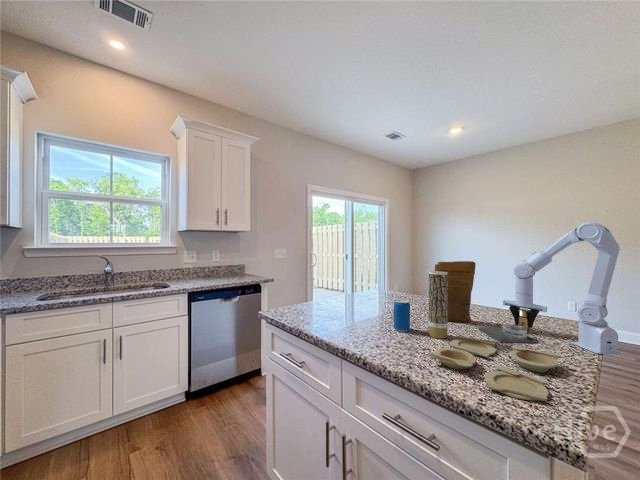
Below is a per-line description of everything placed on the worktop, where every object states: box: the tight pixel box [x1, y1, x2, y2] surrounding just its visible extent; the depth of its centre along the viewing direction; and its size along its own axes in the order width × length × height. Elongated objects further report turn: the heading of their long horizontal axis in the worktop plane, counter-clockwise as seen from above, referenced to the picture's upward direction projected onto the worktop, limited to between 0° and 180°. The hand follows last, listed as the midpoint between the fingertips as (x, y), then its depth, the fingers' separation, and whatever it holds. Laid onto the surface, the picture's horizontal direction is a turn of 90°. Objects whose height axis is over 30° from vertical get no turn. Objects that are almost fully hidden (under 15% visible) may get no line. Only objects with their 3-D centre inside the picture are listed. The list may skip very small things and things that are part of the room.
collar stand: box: [477, 323, 537, 344], centre depth 105 cm, size 14×13×4 cm
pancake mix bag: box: [433, 260, 476, 323], centre depth 124 cm, size 7×19×28 cm, turn 84°
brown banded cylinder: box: [517, 308, 531, 334], centre depth 110 cm, size 4×4×9 cm
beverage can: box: [393, 299, 411, 333], centre depth 111 cm, size 6×6×12 cm
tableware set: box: [427, 335, 562, 402], centre depth 81 cm, size 35×29×4 cm
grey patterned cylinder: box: [427, 270, 448, 339], centre depth 104 cm, size 7×7×25 cm
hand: (523, 325), depth 110 cm, fingers closed on brown banded cylinder, 4 cm apart
